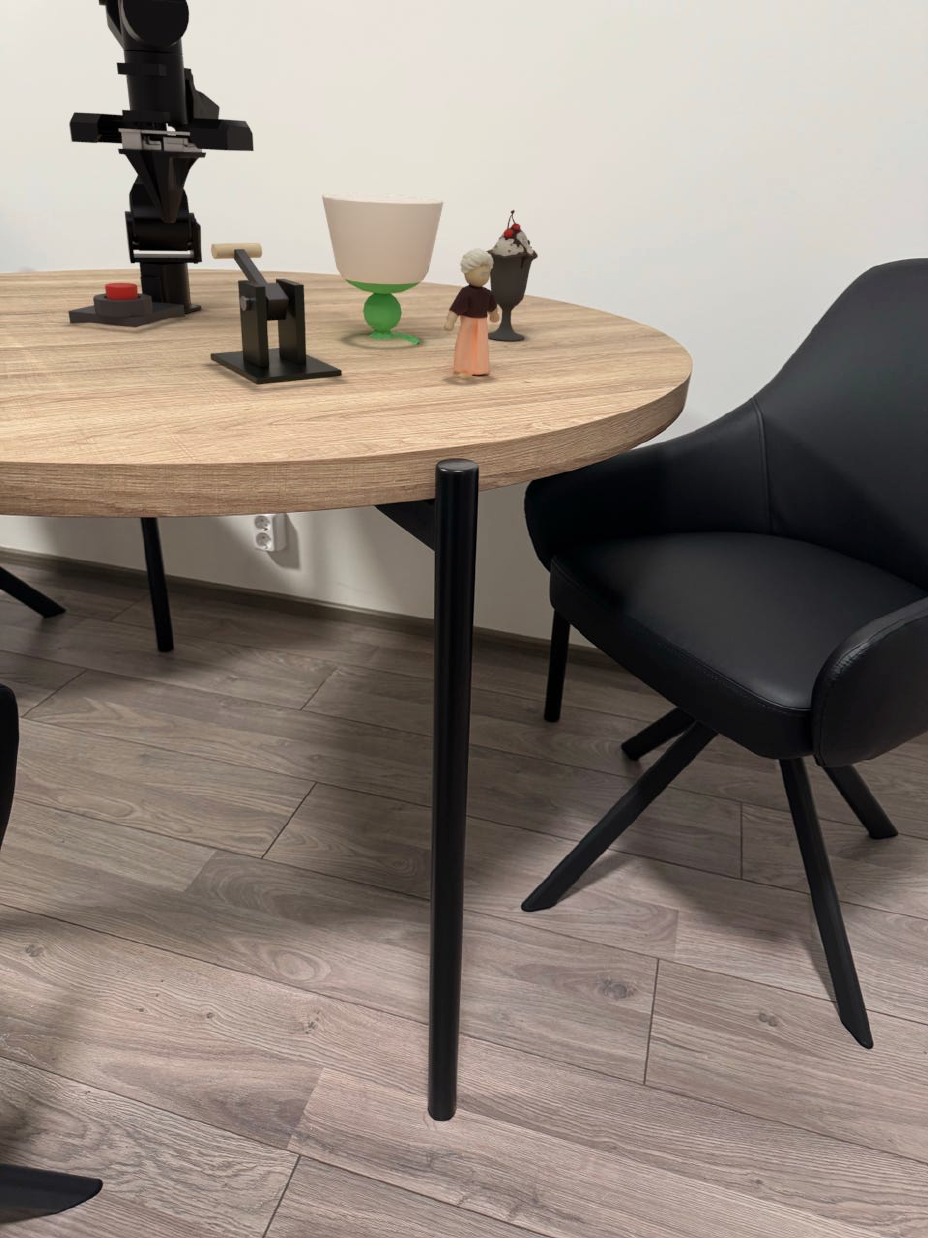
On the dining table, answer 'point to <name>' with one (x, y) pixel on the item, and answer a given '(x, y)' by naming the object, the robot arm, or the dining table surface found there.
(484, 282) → the grandmother figurine
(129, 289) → the power button
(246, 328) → the switch bracket
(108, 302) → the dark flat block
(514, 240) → the sundae
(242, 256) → the lever
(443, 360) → the dining table surface
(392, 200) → the cup
